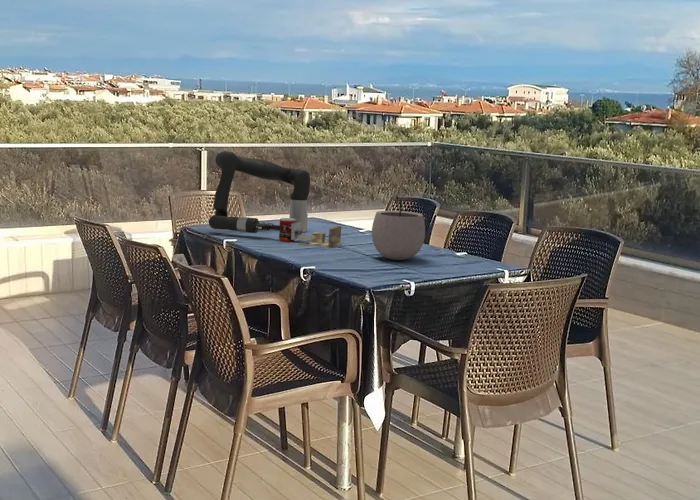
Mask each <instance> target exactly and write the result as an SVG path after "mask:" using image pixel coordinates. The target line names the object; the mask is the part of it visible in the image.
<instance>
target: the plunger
mask: <svg viewBox="0 0 700 500" xmlns="http://www.w3.org/2000/svg"><path fill="white" fill-rule="evenodd" d="M291 240H294V241H296V240H298V241H301V240H309V241H308V242H311V241H312V234H304V233H303V232H302V230H301V222H299V221H298V222H295V223H292V229H291Z"/></svg>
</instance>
